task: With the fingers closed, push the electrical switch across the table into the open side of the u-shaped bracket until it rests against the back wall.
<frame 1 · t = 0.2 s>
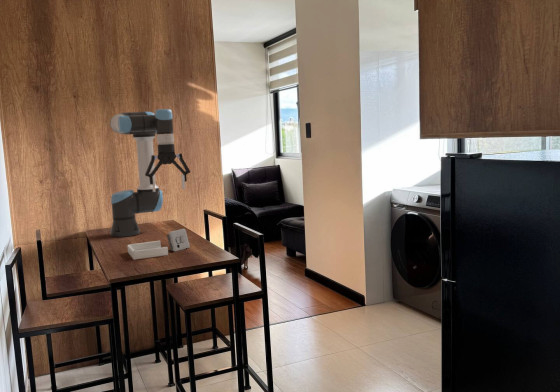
hand: (169, 190, 244), 27 cm above the table, tool pointing down, fingers open, 13 cm apart
u-shaped bracket: (147, 253, 241), on the table
electrical switch: (178, 249, 246), on the table
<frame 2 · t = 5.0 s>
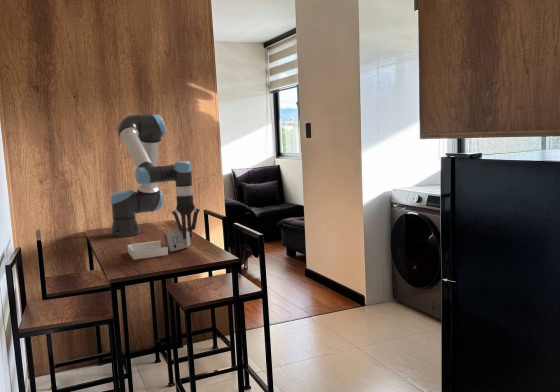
hand: (188, 245, 248), 1 cm above the table, tool pointing down, fingers closed
electrical switch: (175, 249, 246), on the table
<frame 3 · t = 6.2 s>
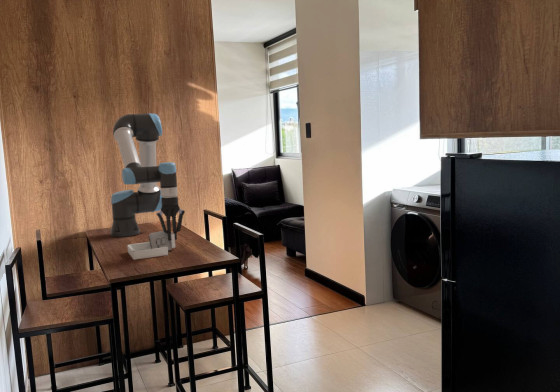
hand: (173, 247, 245), 1 cm above the table, tool pointing down, fingers closed
electrical switch: (159, 251, 244), on the table, touching gripper
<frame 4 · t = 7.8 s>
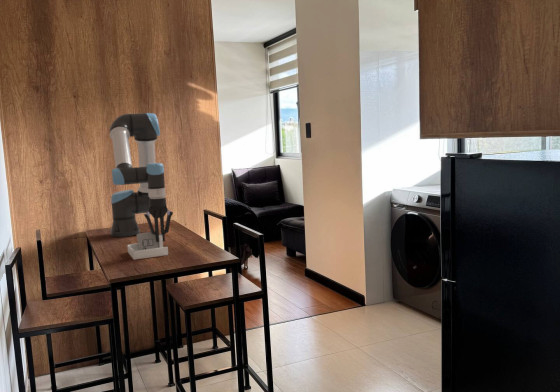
hand: (161, 248, 243), 1 cm above the table, tool pointing down, fingers closed
electrical switch: (148, 252, 243), on the table, touching gripper
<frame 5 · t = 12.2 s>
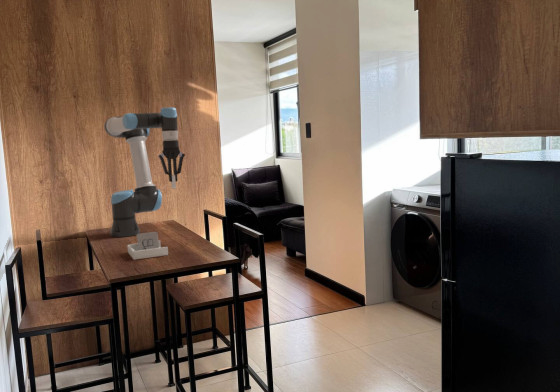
hand: (173, 188, 261), 26 cm above the table, tool pointing down, fingers closed
electrical switch: (147, 252, 243), on the table
at the end: electrical switch inside the target area on the u-shaped bracket (2.5 cm from its centre), point 0.0 cm above the u-shaped bracket's base; electrical switch moved 13.7 cm from its start; the gripper is holding nothing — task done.
